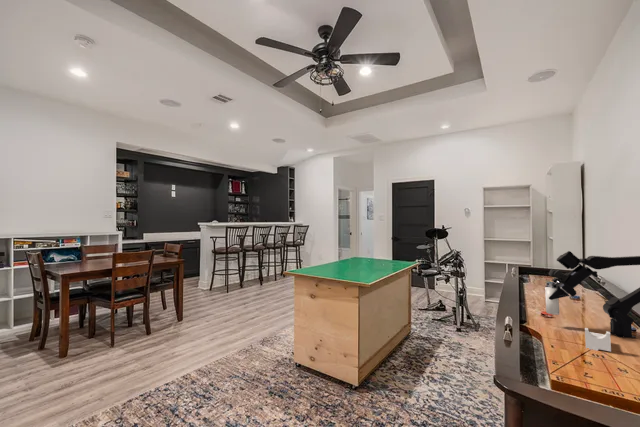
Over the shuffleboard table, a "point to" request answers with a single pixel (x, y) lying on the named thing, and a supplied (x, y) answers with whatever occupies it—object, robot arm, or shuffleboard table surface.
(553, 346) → the shuffleboard table surface
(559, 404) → the shuffleboard table surface
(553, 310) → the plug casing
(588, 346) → the bracket
